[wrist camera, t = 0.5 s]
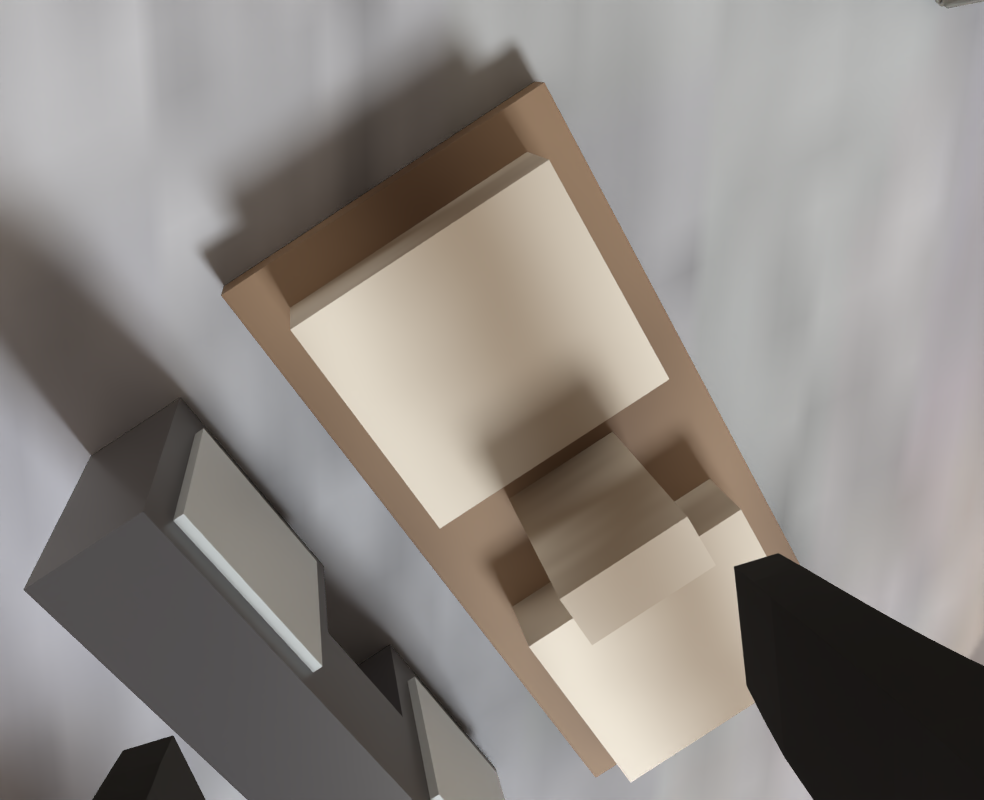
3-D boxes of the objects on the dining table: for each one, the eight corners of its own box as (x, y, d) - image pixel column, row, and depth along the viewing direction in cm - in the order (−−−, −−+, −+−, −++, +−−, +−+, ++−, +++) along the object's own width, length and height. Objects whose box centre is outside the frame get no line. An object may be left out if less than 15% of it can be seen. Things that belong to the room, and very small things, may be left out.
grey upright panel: (90, 455, 20) (23, 590, 15) (188, 392, 20) (153, 504, 15) (426, 814, 25) (459, 998, 20) (502, 764, 25) (554, 937, 20)
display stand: (587, 757, 26) (654, 912, 21) (223, 286, 19) (202, 360, 14) (816, 609, 26) (935, 732, 21) (534, 81, 19) (616, 87, 14)
